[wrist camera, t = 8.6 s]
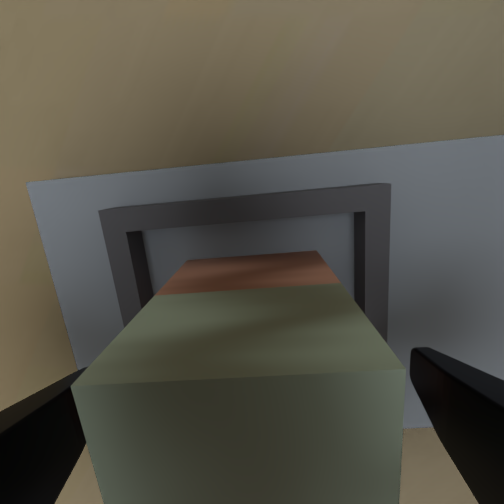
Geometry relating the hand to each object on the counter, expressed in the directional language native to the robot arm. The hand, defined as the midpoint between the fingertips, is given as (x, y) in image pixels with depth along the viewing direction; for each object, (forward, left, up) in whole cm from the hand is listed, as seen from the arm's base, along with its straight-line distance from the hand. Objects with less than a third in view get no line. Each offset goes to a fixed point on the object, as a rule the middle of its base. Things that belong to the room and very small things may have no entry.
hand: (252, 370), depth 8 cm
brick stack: (0, 0, -4) cm, 4 cm away
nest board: (-2, 0, -5) cm, 5 cm away
